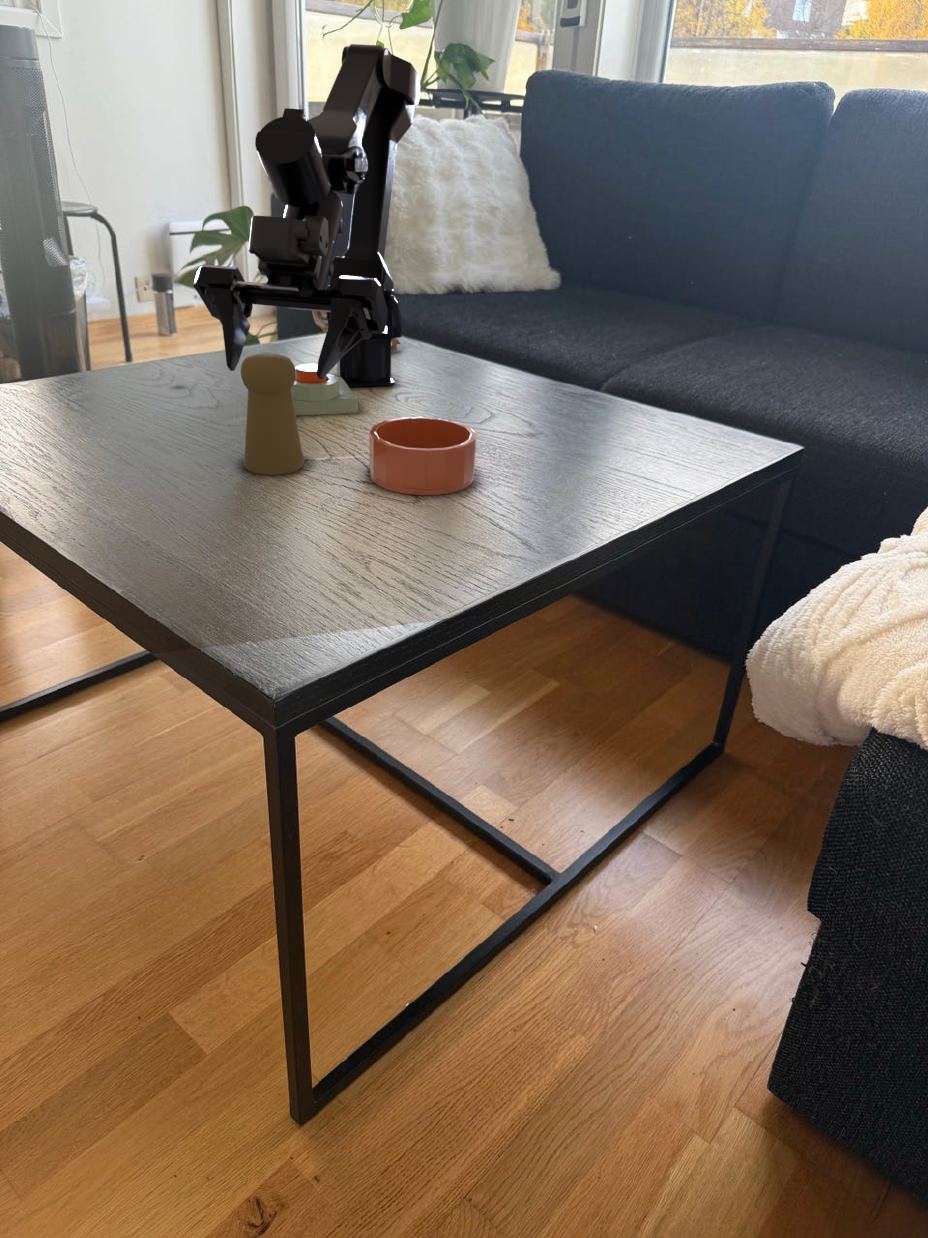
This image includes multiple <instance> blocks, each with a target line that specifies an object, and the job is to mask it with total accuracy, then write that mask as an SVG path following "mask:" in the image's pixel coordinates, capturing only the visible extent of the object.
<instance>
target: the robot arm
mask: <svg viewBox="0 0 928 1238" xmlns="http://www.w3.org/2000/svg"><path fill="white" fill-rule="evenodd" d="M420 97H421V82H420V76H419V73H418V71H417V70H416V68H415V66H414V65H413V63H411V62H409V61H407V60H405V59H403V58H401V57H399V56H396V55H394V54H392V53H391V51H390V50H389V48H387V47H383V46H382V45H380V44H360V43H359V44H357V43H355V44H354V43H350V44H349V46H347V45H346V46H344V47H343V49H342V53H341V65H340V68H339V70H338V72H337V75H336V77H335V80H334V82H333V84H332V87H331V89H330V91H329V94H328V95H327V98H326V100H325V103H324V105H323V106H322V110H321V112H320V113H319V114H318V115H316V116H314V117H312V118H309V119H308V116H307V113H306V110H305V109H304V108H287V107H284V109H283V112H282V116H279V117H277V118H274V119H272V120H271V121H269V122H267V123H266V124H265V125H264V126H263V127H262V128H261V129H260V130H259V131H258V132H256V136H255V139H254V141H255V142H254V145H255V149H256V152H257V155H258V158H259V160H260V163H261V165H262V167H263V169H264V172H265V174H266V177H267V179H268V182H269V184H270V187H271V190H272V192H273V194H274V196H275V199H276V200H277V201H278V202H280V203H282V204H283V205H285V209H284V213H283V217H282V216H272V215H271V216H270V215H269V216H267V215H253V216H252V217H251V221H250V222H251V223H250V232H249V243H248V252H249V254H251V255H254V256H256V257H257V258H258V259H259V262H258V266H257V269H258V271H259V273H260V275H261V276H263V277H266V282H265V283H264V282H255V281H254V282H253V281H246V280H245V278H244V276H243V274H242V273H241V271H240V269H239V267H238V266H226V265H214V264H205V265H201V266H200V267H199V268H198V270H197V271H196V275H195V277H194V282H193V287H194V289H195V290H196V292H197V294H198V295H199V298H200V299H201V300H202V302H203V304H204V306H205V308H206V309H207V310H208V312H209V313H210V315H211V317H213V318H214V319H216V320H219V323H220V324H221V327H222V335H223V344H224V352H225V360H226V362H225V363H226V366H227V368H228V370H229V371H231V372H234V371H235V370H236V368H237V366H238V364H239V362H240V359H241V357H242V353H243V349H244V346H245V343H246V340H247V337H248V334H249V331H250V328H251V324H250V322H249V320H248V319H249V318H250V317H251V315H252V312H253V305H257V306H272V307H282V308H287V309H290V310H298V311H309V312H312V311H321V312H327V319H328V325H329V326H328V330H327V333H325V336H324V339H323V344H322V346H321V350H320V353H319V357H318V361H317V364H318V366H317V376H318V379H323V378H324V377H325V376H326V375H327V374H330V372H331V371H332V370H333V368H334V367H335V366H336V376H337V377H342V378H343V380H344V381H345V383H346V384H347V385H348V387H349V388H355V387H356V388H357V387H358V388H359V387H360V388H361V387H385V386H394V385H395V380H394V379H393V378H392V351H391V346H392V342H391V340H392V339H394V338H397V339H398V338H400V339H401V338H402V337H403V321H402V319H403V318H402V312H401V309H400V306H399V305H400V304H399V302H398V299H397V295H396V292H395V290H394V286H395V285H394V280H393V277H392V275H391V273H390V271H389V269H388V267H387V263H386V261H385V254H386V253H385V252H386V244H387V235H388V227H389V226H388V225H389V217H390V209H391V199H392V190H393V183H394V181H393V180H394V173H395V172H394V171H395V162H396V154H397V146H398V143H399V142H400V141H401V139H403V137H404V135H405V134H406V133H407V132H408V130H409V129H410V128H411V126H412V124H413V119H414V113H415V106H418V105H419V102H420ZM339 195H346V196H347V195H348V196H350V195H351V196H353V200H352V201H353V202H352V208H351V209H352V210H351V218H350V226H349V227H350V228H349V238H348V239H349V240H348V245H347V249H346V251H345V252H343V254H342V256H335V257H334V252H335V247H336V243H337V239H338V234H342V233H343V232H344V223H343V219H342V218H343V213H344V205H343V202H342V199H341V198H340V197H339ZM333 257H334V259H333ZM328 277H330V282H329V284H328V285H327V281H328V279H329V278H328ZM386 325H387V327H386Z"/></svg>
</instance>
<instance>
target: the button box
mask: <svg viewBox="0 0 928 1238" xmlns="http://www.w3.org/2000/svg"><path fill="white" fill-rule="evenodd" d="M326 378H327V382H323V383H316V384H307V383H300V382H297V381H296V378H295V383H294V385H293V386H292V388H291V394H292V400H293V405H294V410H295V416H313V415H317V416H318V415H335V414H336V415H337V414H356V413H357V414H358V413H359V400H358V398H357V396H356V395H355V393H354V392H353V390H351V387H348V385H347V384H346V383H345V381H344V380H343V378H342V377H339V376H338V375H334V374H331V373H328V374H327V375H326Z"/></svg>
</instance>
